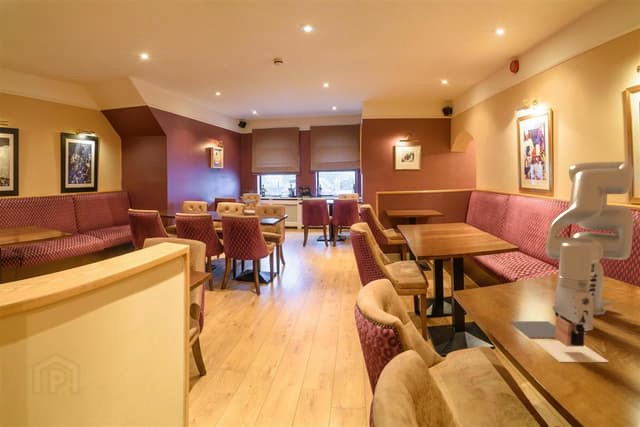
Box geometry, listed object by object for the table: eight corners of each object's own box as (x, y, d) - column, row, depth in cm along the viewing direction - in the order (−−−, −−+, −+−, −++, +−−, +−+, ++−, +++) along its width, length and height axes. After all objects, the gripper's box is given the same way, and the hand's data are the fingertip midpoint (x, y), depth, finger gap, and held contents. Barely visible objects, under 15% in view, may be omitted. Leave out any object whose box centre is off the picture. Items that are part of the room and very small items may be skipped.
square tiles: (547, 321, 118) (547, 321, 118) (609, 362, 92) (609, 361, 92) (509, 322, 118) (509, 321, 118) (559, 362, 92) (559, 361, 92)
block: (571, 338, 100) (572, 317, 99) (583, 346, 95) (585, 324, 94) (555, 338, 100) (556, 317, 99) (566, 346, 95) (568, 324, 94)
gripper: (611, 292, 87) (606, 355, 89) (565, 274, 104) (561, 327, 106) (583, 292, 87) (578, 355, 89) (542, 274, 104) (539, 327, 106)
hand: (569, 339), depth 97 cm, fingers closed on block, 5 cm apart
